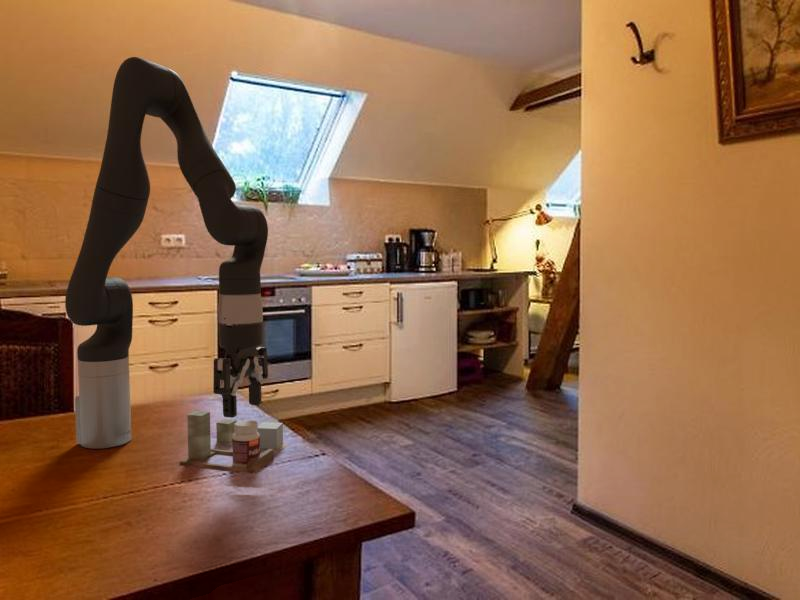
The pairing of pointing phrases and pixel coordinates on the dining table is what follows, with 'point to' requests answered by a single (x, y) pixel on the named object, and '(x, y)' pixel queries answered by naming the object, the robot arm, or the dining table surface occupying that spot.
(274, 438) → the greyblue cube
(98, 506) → the dining table surface
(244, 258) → the robot arm
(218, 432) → the birch slat
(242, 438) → the pill bottle
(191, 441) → the open wooden frame
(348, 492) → the dining table surface
